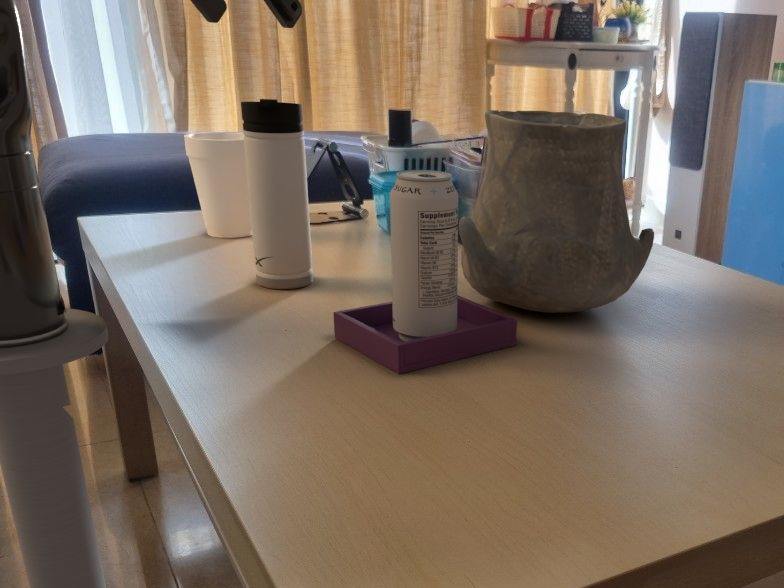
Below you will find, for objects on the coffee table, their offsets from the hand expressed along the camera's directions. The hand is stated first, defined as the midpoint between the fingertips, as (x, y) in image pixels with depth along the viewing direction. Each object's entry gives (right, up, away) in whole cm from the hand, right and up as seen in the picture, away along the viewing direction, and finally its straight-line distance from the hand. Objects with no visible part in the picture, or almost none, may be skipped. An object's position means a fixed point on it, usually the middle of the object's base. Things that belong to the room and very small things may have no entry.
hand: (255, 18), depth 69 cm
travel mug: (-6, -18, +26) cm, 33 cm away
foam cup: (-20, -8, +48) cm, 52 cm away
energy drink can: (+13, -26, +10) cm, 30 cm away
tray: (+13, -26, +10) cm, 31 cm away
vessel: (+24, -20, +25) cm, 40 cm away
